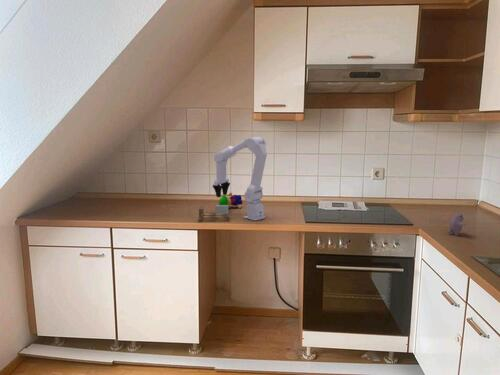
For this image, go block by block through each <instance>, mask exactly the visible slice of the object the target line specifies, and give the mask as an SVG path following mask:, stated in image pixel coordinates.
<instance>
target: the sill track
mask: <svg viewBox="0 0 500 375" xmlns="http://www.w3.org/2000/svg"><path fill="white" fill-rule="evenodd" d="M204 210H205V208H204V206H203V205H201V206H199V208H198V222H200V223H202V222H203V223H205V222H207V223H208V222H209V223H211V222H215V223H216V222H218V223H220V222H230V213H229V212H228V214H216V213H205V211H204Z"/></svg>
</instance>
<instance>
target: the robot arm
mask: <svg viewBox="0 0 500 375" xmlns="http://www.w3.org/2000/svg"><path fill="white" fill-rule="evenodd" d="M266 146H267V142H266V141H265V139H264V138H263V136H256V137H252V136H249V137H247V138H245V139H243V140H242V141H241V142H239V143H237V144H236V145H234V146H233V145H227V146H226V148H223V149H221V151H217V152H215V153H214V155H213V159H214V161H215V163H216V164H215V165H216V166H215V170H216V172H215V173H216V174H215V175H216V179H215V180H214V182H213V185H212V188H213V190H214V193H215V196H216V198H222V196H223V195H225V196H227V194H228V191H229V187H230V186H231V182H230V179H229V178H227V164H228V160H229V159H230V158H232V157H234V156H236V155H237V153H238V152H240V151H241V150H244V149H248V150H250V152H251V153H252V154H254V156H255V159H254V163H253V168H252V175H251V179H250V184H249V185H248V187H246V191H245V192H244V196H243V198H244V200H245V202H246V215H245V216H243V218H244V219H248V220H252V221H259V220H263V219H266V216H265V205H264V204H263V203H261V201H262V200H261V199H262V198H263V197H264V196H263V195H264V194H263V187H262V186H261V185H262V180H263V175H264V170H265V166H266V160H267V147H266ZM221 195H222V196H221Z"/></svg>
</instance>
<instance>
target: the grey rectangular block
mask: <svg viewBox="0 0 500 375" xmlns="http://www.w3.org/2000/svg"><path fill="white" fill-rule="evenodd" d="M228 213H229V207H228V205H219V204H216V205H215V214H228Z"/></svg>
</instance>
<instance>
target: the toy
mask: <svg viewBox="0 0 500 375" xmlns="http://www.w3.org/2000/svg"><path fill="white" fill-rule="evenodd" d="M218 205H228V208H230V206H235V207H237V208H238V209H241V208H242V205H243V199H242V195H241V194H239V195H237V194H233V193H232V192H231V191H230V192H229V193H227V195H223V194H222V196H221V197H220V198H219V200H218Z"/></svg>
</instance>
